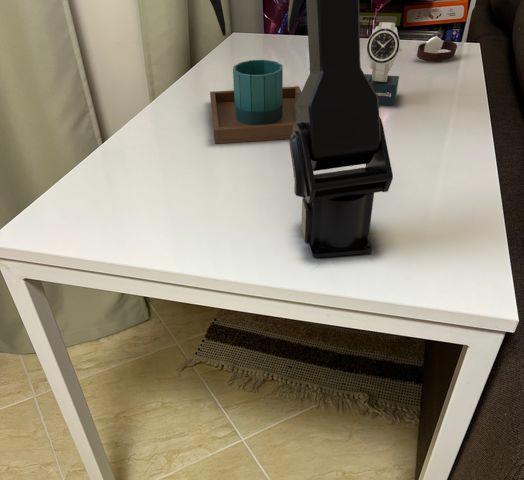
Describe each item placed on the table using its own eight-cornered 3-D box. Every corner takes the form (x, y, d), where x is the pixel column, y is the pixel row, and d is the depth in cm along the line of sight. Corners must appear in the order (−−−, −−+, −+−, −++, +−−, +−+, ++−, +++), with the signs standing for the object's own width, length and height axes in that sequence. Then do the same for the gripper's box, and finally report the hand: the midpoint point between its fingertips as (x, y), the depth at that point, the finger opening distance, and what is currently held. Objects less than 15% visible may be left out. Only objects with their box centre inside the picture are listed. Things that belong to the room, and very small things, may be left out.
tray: (298, 98, 91) (299, 86, 90) (314, 137, 80) (315, 123, 78) (211, 104, 90) (209, 91, 89) (214, 143, 79) (213, 130, 77)
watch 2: (447, 53, 106) (451, 32, 104) (460, 60, 103) (464, 38, 101) (411, 57, 105) (414, 36, 103) (422, 64, 102) (426, 43, 99)
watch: (357, 107, 87) (365, 30, 80) (364, 90, 93) (371, 16, 85) (393, 110, 86) (404, 32, 79) (397, 92, 92) (408, 17, 84)
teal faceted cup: (268, 104, 88) (291, 118, 84) (228, 113, 86) (249, 129, 81) (267, 56, 83) (291, 69, 79) (224, 65, 81) (247, 79, 76)
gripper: (318, -121, 72) (313, 15, 83) (176, -115, 71) (189, 21, 82) (334, -113, 64) (327, 36, 75) (174, -107, 63) (190, 43, 74)
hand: (257, 33), depth 77 cm, fingers open, 9 cm apart
